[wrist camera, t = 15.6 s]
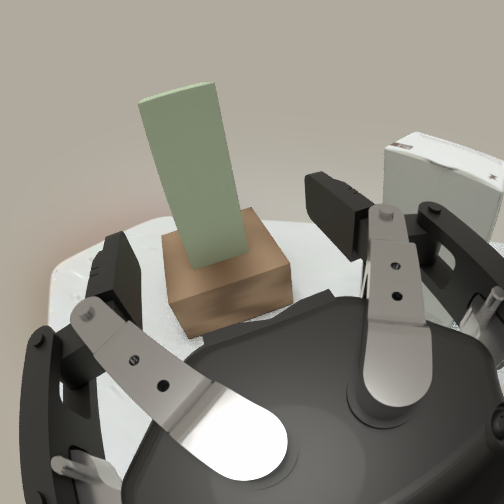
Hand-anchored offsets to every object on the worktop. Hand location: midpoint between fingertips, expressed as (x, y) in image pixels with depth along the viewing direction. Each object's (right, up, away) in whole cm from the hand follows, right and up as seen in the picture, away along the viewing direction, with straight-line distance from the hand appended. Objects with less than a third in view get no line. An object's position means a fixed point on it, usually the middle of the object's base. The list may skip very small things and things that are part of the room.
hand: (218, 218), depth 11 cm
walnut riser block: (-1, -5, +17) cm, 17 cm away
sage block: (-2, -1, +14) cm, 14 cm away
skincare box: (+16, -7, +11) cm, 21 cm away
